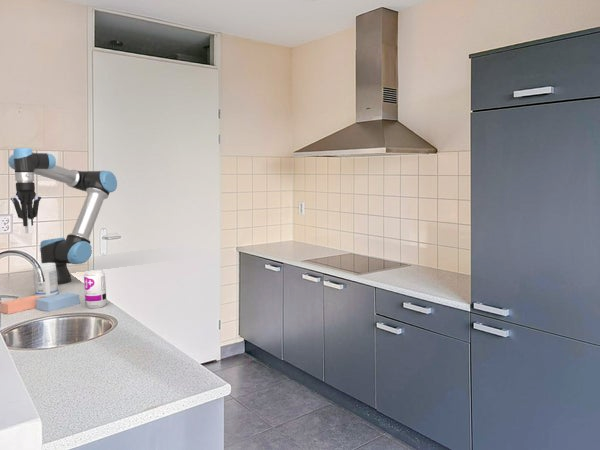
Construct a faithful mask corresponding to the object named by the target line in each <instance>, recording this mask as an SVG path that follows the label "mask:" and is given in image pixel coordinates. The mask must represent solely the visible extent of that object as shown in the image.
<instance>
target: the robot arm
mask: <svg viewBox="0 0 600 450" xmlns="http://www.w3.org/2000/svg"><path fill="white" fill-rule="evenodd" d="M12 153H13V154H12V155H10V156H9V158H8V166H9V167H10V168H11V169H12V170H14V177H15V179H14V180H15V181H14V182H16V183H15V190H16V194H15V196H13V197H10V201H11V202H12V203H13V206H14V210H15V212H16V214H17V218H18V219H21V220H22V223H23V224H22V225H23V227H24V229H25V234H33V229H32V228H33V227H32V226H33V225H34V219H35V218H37V217H38V213H39V212H38V211H39V206H40V201H41V200H42V196H38V195H37V193H36V192H35V191H36V190H35V189H36V184H35V182H34V181H35V175H38V176H41V177H43V178H48V179H50V180H54V181H56V182H60V183H64V184H65V185H67V186H68V187H70V188H73V189H76V190H80V191H83V192H85V193H87V194H86V197H85V200H84V202H83V205H82V208H80V212H79V215H78V216H77V217H78V218H77V220H76V222H75V224H74V227H73V229H72V232H71V233H69V234H67V236H66V238H65V237H58V238H57V237H56V238H50V239H49V238H48V239H45V240H44V239H43V240H41V241H40V247H39V249H40V250H39V251H40V259H41V260H40V261H41V263H55V264H56V270H57V282H58V285H61V284H66V283H67V284H68V283H70V282H71V281H72V276H71V275H72V274H71V273H70V272H69V268H68V266H67V265H69V264H71V265H81V264H82V265H83V264H85V263H87V261H88V260H89V259H90V258H91V256H92V254H93V253H92V252H93V250H92V248H93V247H92V245H91V240H90V236H91V234H92V231H93V228H94V226H95V223H96V220H97V218H98V215H99V213H100V211H101V209H102V206H103V202H104V200H106V199H108V198H109V195H110V193H114V192H115V191H116V190H117V187H118V181H117V178H116V175H115V174H114V173H113V172H112V171H110V170H94V171H93V170H87V171H82V170H76V169H68V168H65V167H63V166H59V165H58V164H57V161H56V157H55V156H54V155H53V154H52V153H48V152H42V153H41V152H33V149H32V148H30V147H15V148H13V152H12ZM19 201H20V202H19Z"/></svg>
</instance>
